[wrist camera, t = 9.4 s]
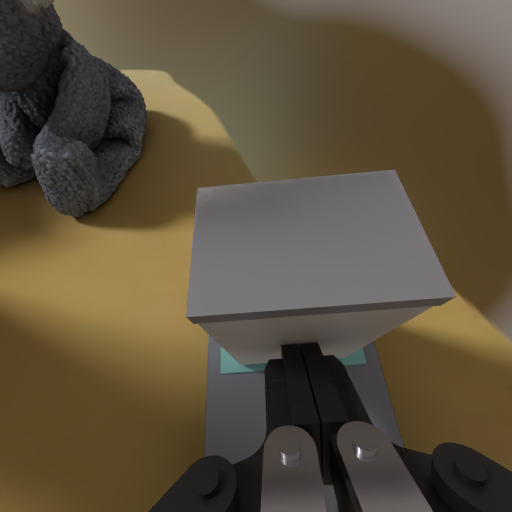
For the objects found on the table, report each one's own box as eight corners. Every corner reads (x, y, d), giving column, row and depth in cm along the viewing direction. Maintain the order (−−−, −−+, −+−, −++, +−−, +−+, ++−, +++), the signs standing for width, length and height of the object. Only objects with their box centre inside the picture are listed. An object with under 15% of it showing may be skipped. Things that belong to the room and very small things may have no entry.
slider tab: (345, 358, 14) (456, 296, 6) (239, 365, 14) (186, 317, 6) (331, 291, 16) (394, 169, 8) (238, 298, 16) (197, 187, 8)
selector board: (503, 887, 8) (570, 1030, 6) (202, 889, 8) (181, 1025, 7) (345, 277, 19) (353, 265, 17) (216, 287, 19) (210, 276, 18)
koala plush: (-25, 187, 27) (-508, -152, 11) (85, 99, 35) (-90, -175, 18) (96, 230, 23) (-381, -217, 6) (190, 119, 31) (89, -212, 14)
